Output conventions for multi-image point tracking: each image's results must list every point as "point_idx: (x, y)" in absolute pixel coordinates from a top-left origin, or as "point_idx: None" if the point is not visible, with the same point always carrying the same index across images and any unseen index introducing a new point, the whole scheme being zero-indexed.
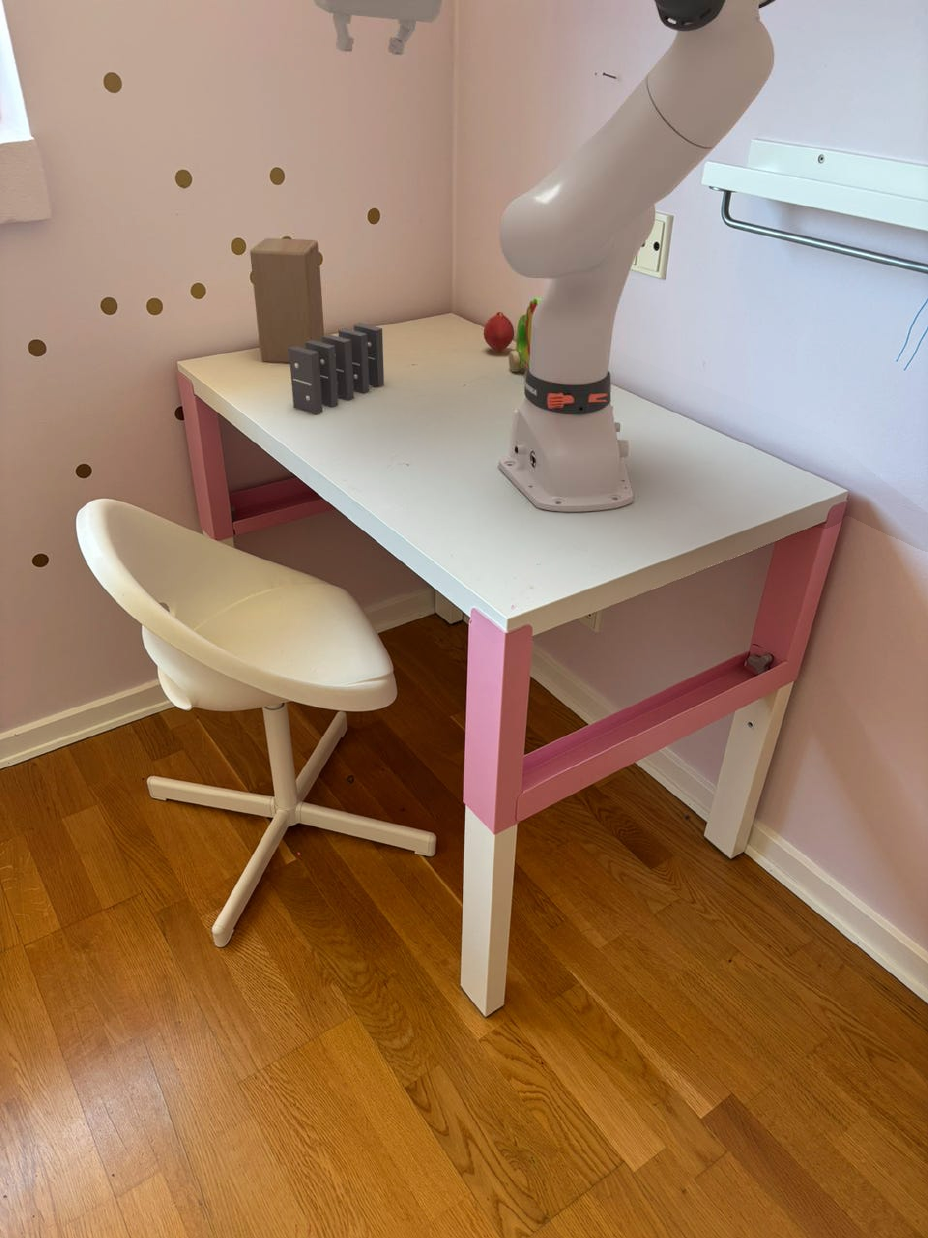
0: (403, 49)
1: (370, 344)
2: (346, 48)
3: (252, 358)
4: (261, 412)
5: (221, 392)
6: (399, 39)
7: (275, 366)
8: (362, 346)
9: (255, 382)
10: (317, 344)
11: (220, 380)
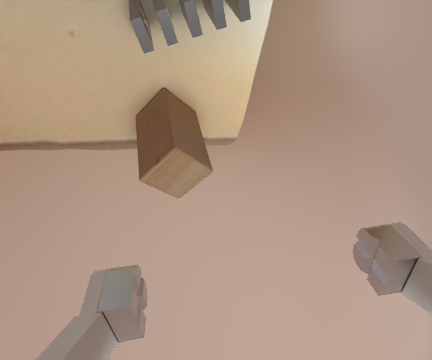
0: (92, 284)
1: (143, 19)
2: (394, 227)
3: None
4: (260, 7)
5: (254, 69)
6: (108, 326)
7: (191, 98)
8: (163, 4)
9: (223, 75)
10: (221, 11)
11: (240, 92)
